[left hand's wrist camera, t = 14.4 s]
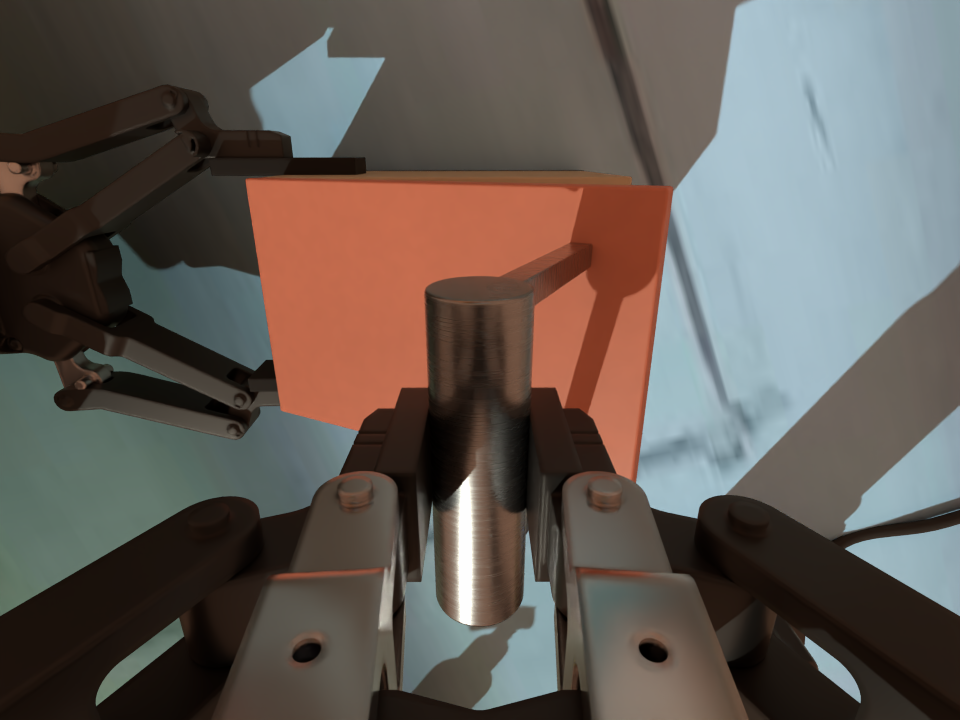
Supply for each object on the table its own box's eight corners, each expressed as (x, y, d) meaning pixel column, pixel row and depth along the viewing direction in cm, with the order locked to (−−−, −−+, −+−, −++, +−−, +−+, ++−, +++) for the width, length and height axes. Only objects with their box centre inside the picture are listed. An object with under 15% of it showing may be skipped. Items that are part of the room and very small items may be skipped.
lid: (674, 185, 15) (596, 216, 7) (635, 486, 18) (556, 715, 11) (265, 177, 21) (-5, 188, 14) (297, 402, 25) (98, 509, 17)
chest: (580, 170, 32) (633, 176, 22) (569, 329, 35) (611, 396, 25) (324, 170, 31) (260, 176, 21) (340, 332, 35) (292, 401, 25)
